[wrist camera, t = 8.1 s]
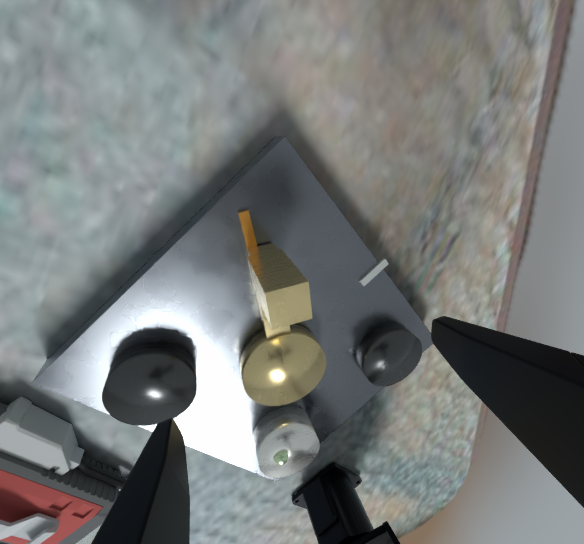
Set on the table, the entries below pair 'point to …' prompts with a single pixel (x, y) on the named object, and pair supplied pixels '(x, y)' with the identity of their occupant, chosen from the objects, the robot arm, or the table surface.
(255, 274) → the brass knob
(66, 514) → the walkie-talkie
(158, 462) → the robot arm
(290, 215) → the instrument base
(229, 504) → the table surface
